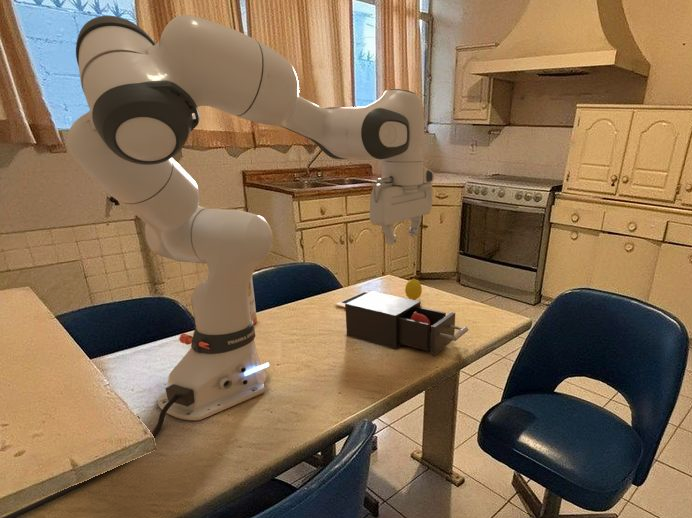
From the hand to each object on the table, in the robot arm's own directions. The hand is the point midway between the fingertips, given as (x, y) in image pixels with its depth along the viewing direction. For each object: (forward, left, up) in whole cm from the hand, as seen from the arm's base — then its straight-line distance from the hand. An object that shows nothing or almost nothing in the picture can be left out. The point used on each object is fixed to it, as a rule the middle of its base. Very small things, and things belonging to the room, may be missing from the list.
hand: (402, 239), depth 102 cm
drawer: (+12, 0, -30) cm, 32 cm away
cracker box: (-8, +50, -31) cm, 60 cm away
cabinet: (+12, +14, -31) cm, 36 cm away
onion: (+12, +1, -29) cm, 31 cm away
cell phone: (+30, +36, -31) cm, 56 cm away
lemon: (+40, +21, -31) cm, 55 cm away
